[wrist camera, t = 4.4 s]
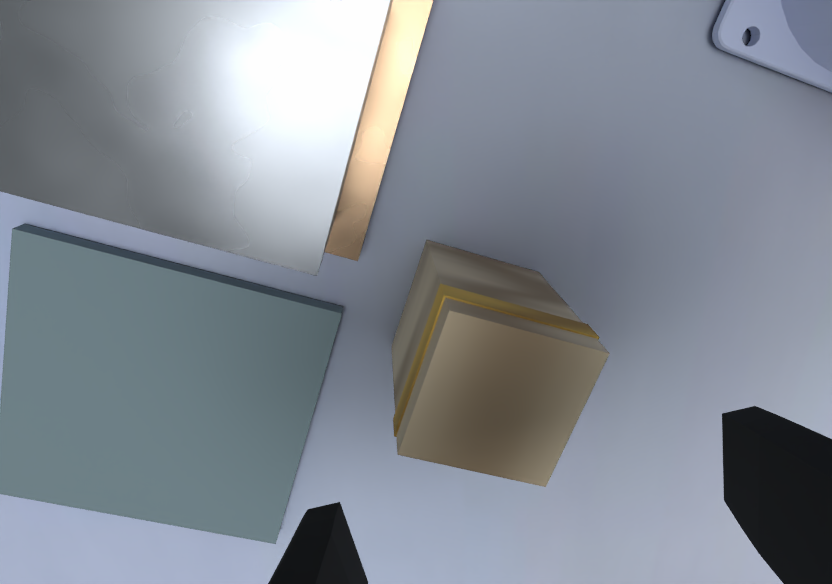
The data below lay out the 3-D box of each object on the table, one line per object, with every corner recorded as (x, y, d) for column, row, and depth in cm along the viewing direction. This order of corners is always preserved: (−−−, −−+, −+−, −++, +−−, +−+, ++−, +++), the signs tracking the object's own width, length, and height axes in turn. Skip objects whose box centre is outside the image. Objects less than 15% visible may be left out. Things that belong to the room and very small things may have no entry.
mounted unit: (435, -15, 15) (470, -74, 9) (358, 251, 18) (350, 329, 12) (52, -157, 13) (-180, -331, 8) (29, 160, 16) (-159, 199, 10)
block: (540, 271, 18) (612, 352, 13) (498, 374, 20) (546, 488, 14) (425, 237, 18) (448, 307, 12) (389, 346, 19) (394, 455, 13)
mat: (342, 306, 18) (341, 313, 18) (278, 532, 21) (275, 543, 21) (24, 223, 17) (12, 228, 16) (5, 481, 20) (-6, 492, 19)
